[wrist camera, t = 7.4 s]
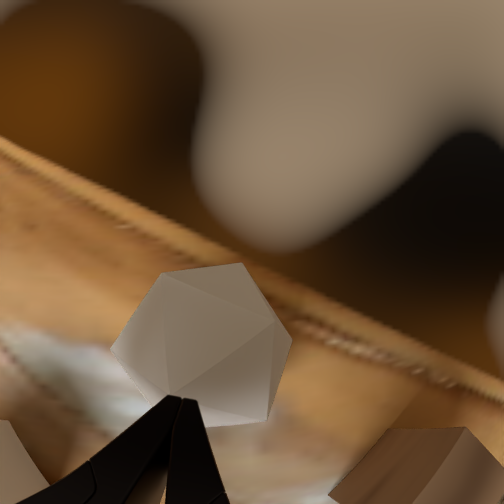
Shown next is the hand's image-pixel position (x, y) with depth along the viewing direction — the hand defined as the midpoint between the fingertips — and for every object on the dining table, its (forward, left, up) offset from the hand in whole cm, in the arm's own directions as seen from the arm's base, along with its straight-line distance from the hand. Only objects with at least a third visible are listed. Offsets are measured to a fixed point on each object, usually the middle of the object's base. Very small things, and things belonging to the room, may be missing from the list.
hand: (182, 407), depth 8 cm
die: (+2, -2, -11) cm, 11 cm away
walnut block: (-13, -4, -11) cm, 17 cm away
